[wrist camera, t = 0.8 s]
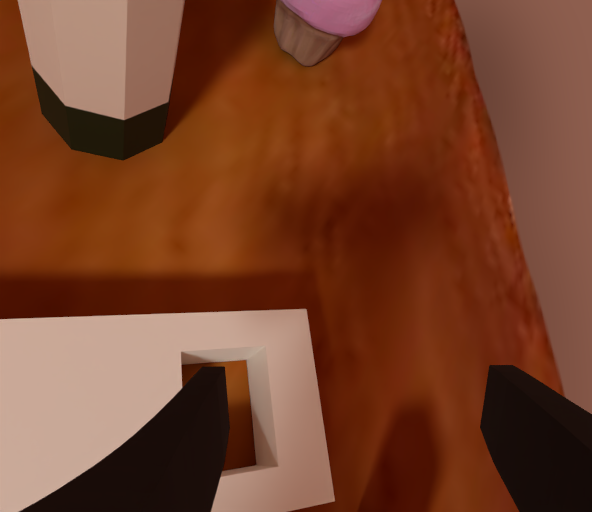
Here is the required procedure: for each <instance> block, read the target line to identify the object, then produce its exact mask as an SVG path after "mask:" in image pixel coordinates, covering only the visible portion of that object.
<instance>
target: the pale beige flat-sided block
mask: <svg viewBox="0 0 592 512" xmlns="http://www.w3.org/2000/svg"><path fill="white" fill-rule="evenodd" d="M236 360H247V369H248V380H249V390H250V401H251V412H252V423H253V434H254V444H255V455H256V465H255V466H249V467H243V468H238V469H232V470H226V471H222V473H221V477H220V481H219V484H218V488H217V492H216V495H215V499H214V502H213V506H212V510H211V512H288V511H293V510H298V509H302V508H307V507H311V506H316V505H320V504H325V503H329V502H334V501H335V497H334V491H333V484H332V477H331V471H330V464H329V457H328V450H327V444H326V437H325V430H324V424H323V417H322V410H321V403H320V397H319V390H318V383H317V376H316V370H315V363H314V356H313V350H312V343H311V336H310V329H309V323H308V316H307V309H289V310H260V311H230V312H200V313H171V314H141V315H112V316H82V317H52V318H23V319H0V512H19V511H21V510H23V509H24V508H26V507H28V506H30V505H32V504H34V503H35V502H37V501H39V500H40V499H42V498H44V497H46V496H47V495H49V494H51V493H52V492H54V491H56V490H57V489H59V488H61V487H62V486H64V485H65V484H67V483H68V482H70V481H71V480H73V479H74V478H76V477H77V476H79V475H80V474H82V473H83V472H85V471H86V470H88V469H89V468H91V467H93V466H94V465H95V464H97V463H98V462H100V461H101V460H102V459H104V458H105V457H106V456H108V455H109V454H110V453H112V452H113V451H114V450H116V449H117V448H118V447H120V446H121V445H122V444H123V443H125V442H126V441H127V440H128V439H129V438H131V437H132V436H133V435H134V434H135V433H136V432H137V431H139V430H140V429H141V428H142V427H143V426H144V425H145V424H146V423H147V422H149V421H150V420H151V419H152V418H153V417H154V416H155V415H156V414H157V413H158V412H159V411H160V410H161V409H162V408H163V407H164V406H165V405H166V404H167V403H168V402H169V401H170V400H171V399H172V398H173V397H174V396H175V395H176V394H177V393H178V392H179V391H180V390H181V389H182V369H181V365H184V364H197V363H210V362H223V361H236Z"/></svg>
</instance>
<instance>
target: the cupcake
mask: <svg viewBox="0 0 592 512" xmlns="http://www.w3.org/2000/svg"><path fill="white" fill-rule="evenodd" d="M381 1H382V0H276V9H275V20H274V32H275V36H276V38H277V41H278V44H279V46H280V48H281V49H282V50H284V51H286V52H288V53H289V54H291V55H292V56H293V57H294V58H295V59H296V60H297V61H298V62H299V63H300V64H301V65H303V66H313V65H315V64H316V63H318V62H320V61H321V60H323V59H324V58H326V57H328V56H329V55H330V54H331V53H332V52H333V51H334V50H335V49H336V48H337V46H338V45H339V44H340V42H341V40H342V39H343V37H346V36H353V35H355V34H358V33H359V32H361V31H363V30H364V29H365V28H366V27H368V25H369V24H370V23H371V21H372V20H373V18H374V16H375V14H376V12H377V11H378V9H379V7H380V4H381Z"/></svg>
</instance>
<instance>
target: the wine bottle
mask: <svg viewBox="0 0 592 512" xmlns="http://www.w3.org/2000/svg"><path fill="white" fill-rule="evenodd" d="M18 3H19V8H20V13H21V17H22V22H23V27H24V31H25V36H26V41H27V45H28V50H29V55H30V59H31V64H32V69H33V74H34V78H35V83H36V88H37V92H38V97H39V102H40V106H41V111H42V114H43V115H44V117H45V118H46V119H47V120H48V121H49V123H50V124H51V125H52V126H53V127H54V129H55V130H56V131H57V132H58V133H59V135H60V136H61V137H62V138H63V140H64V141H65V142H66V143H67V144H68V146H69V147H70V148H71V149H73V150H78V151H82V152H87V153H91V154H96V155H100V156H105V157H110V158H114V159H119V160H125V159H127V158H129V157H132V156H134V155H136V154H138V153H140V152H142V151H144V150H146V149H149V148H151V147H153V146H155V145H157V144H159V143H161V142H162V141H163V135H164V130H165V125H166V119H167V114H168V108H169V102H170V95H171V89H172V82H173V75H174V69H175V62H176V56H177V49H178V43H179V36H180V30H181V23H182V17H183V10H184V4H185V0H18Z"/></svg>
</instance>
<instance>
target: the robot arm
mask: <svg viewBox="0 0 592 512" xmlns="http://www.w3.org/2000/svg"><path fill="white" fill-rule="evenodd" d="M480 428H481V431H482V433H483V436H484V439H485V442H486V445H487V447H488V450H489V452H490V455H491V457H492V460H493V462H494V464H495V466H496V468H497V470H498V472H499V474H500V476H501V478H502V480H503V482H504V484H505V485H506V487H507V489H508V491H509V493H510V495H511V497H512V498H513V500H514V502H515V504H516V506H517V508H518V510H519V511H520V512H592V414H590V413H589V412H587V411H585V410H584V409H582V408H581V407H579V406H577V405H576V404H574V403H573V402H571V401H569V400H568V399H566V398H565V397H563V396H562V395H560V394H558V393H557V392H555V391H554V390H552V389H551V388H549V387H548V386H546V385H544V384H543V383H541V382H540V381H538V380H537V379H535V378H533V377H532V376H530V375H529V374H527V373H525V372H524V371H522V370H520V369H519V368H517V367H515V366H513V365H490V366H489V372H488V379H487V385H486V392H485V399H484V405H483V412H482V418H481V425H480ZM229 429H230V425H229V413H228V401H227V389H226V376H225V367H202V368H201V369H200V370H199V371H198V372H197V373H196V374H195V375H194V376H193V377H192V378H191V379H190V380H189V381H188V382H187V383H186V385H185V386H184V387H183V388H182V389H181V390H180V391H179V392H178V393H177V394H176V395H175V396H174V397H173V398H172V399H171V400H170V401H169V402H168V403H167V404H166V405H165V406H164V407H163V408H162V409H161V410H160V411H159V412H158V413H157V414H156V415H155V416H154V417H153V418H152V419H151V420H150V421H149V422H147V423H146V424H145V425H144V426H143V427H142V428H141V429H140V430H139V431H137V432H136V433H135V434H134V435H133V436H132V437H131V438H129V439H128V440H127V441H126V442H125V443H123V444H122V445H121V446H120V447H118V448H117V449H116V450H114V451H113V452H112V453H110V454H109V455H108V456H106V457H105V458H104V459H102V460H101V461H100V462H98V463H97V464H95V465H94V466H93V467H91V468H89V469H88V470H86V471H85V472H83V473H82V474H80V475H79V476H77V477H76V478H74V479H73V480H71V481H70V482H68V483H67V484H65V485H64V486H62V487H61V488H59V489H57V490H56V491H54V492H52V493H51V494H49V495H47V496H46V497H44V498H42V499H40V500H39V501H37V502H35V503H34V504H32V505H30V506H28V507H26V508H24V509H23V510H21V511H19V512H211V510H212V506H213V502H214V499H215V495H216V492H217V488H218V484H219V481H220V477H221V473H222V470H223V466H224V462H225V456H226V449H227V443H228V436H229Z"/></svg>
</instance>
